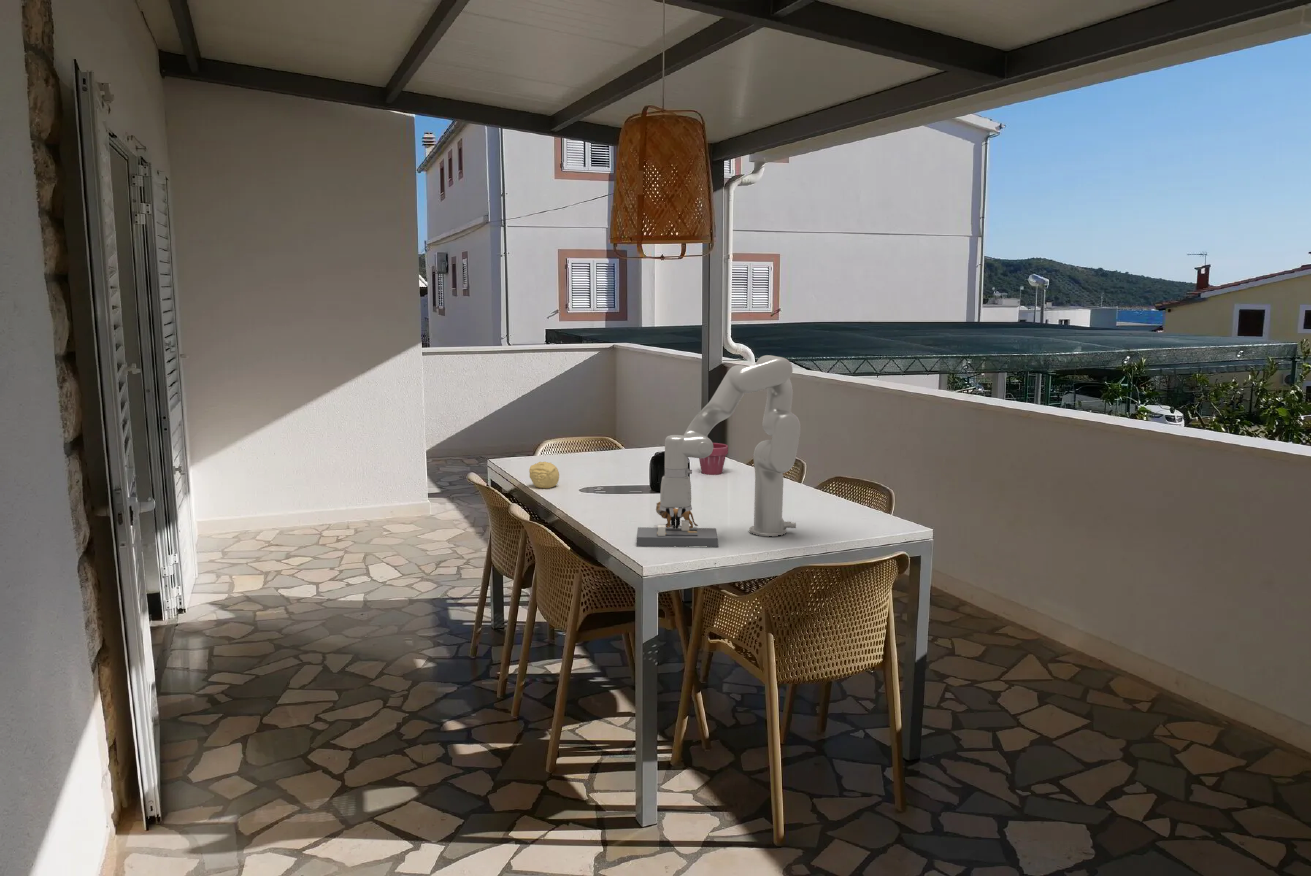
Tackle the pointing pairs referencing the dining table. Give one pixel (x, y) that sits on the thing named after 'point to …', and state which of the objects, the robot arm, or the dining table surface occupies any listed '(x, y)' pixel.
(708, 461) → the plant pot
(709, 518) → the dining table surface
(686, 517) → the lion figurine
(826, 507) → the dining table surface
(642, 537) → the switch board
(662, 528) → the switch
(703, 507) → the dining table surface
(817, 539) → the dining table surface
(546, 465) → the sculpture
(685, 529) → the switch
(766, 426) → the robot arm
